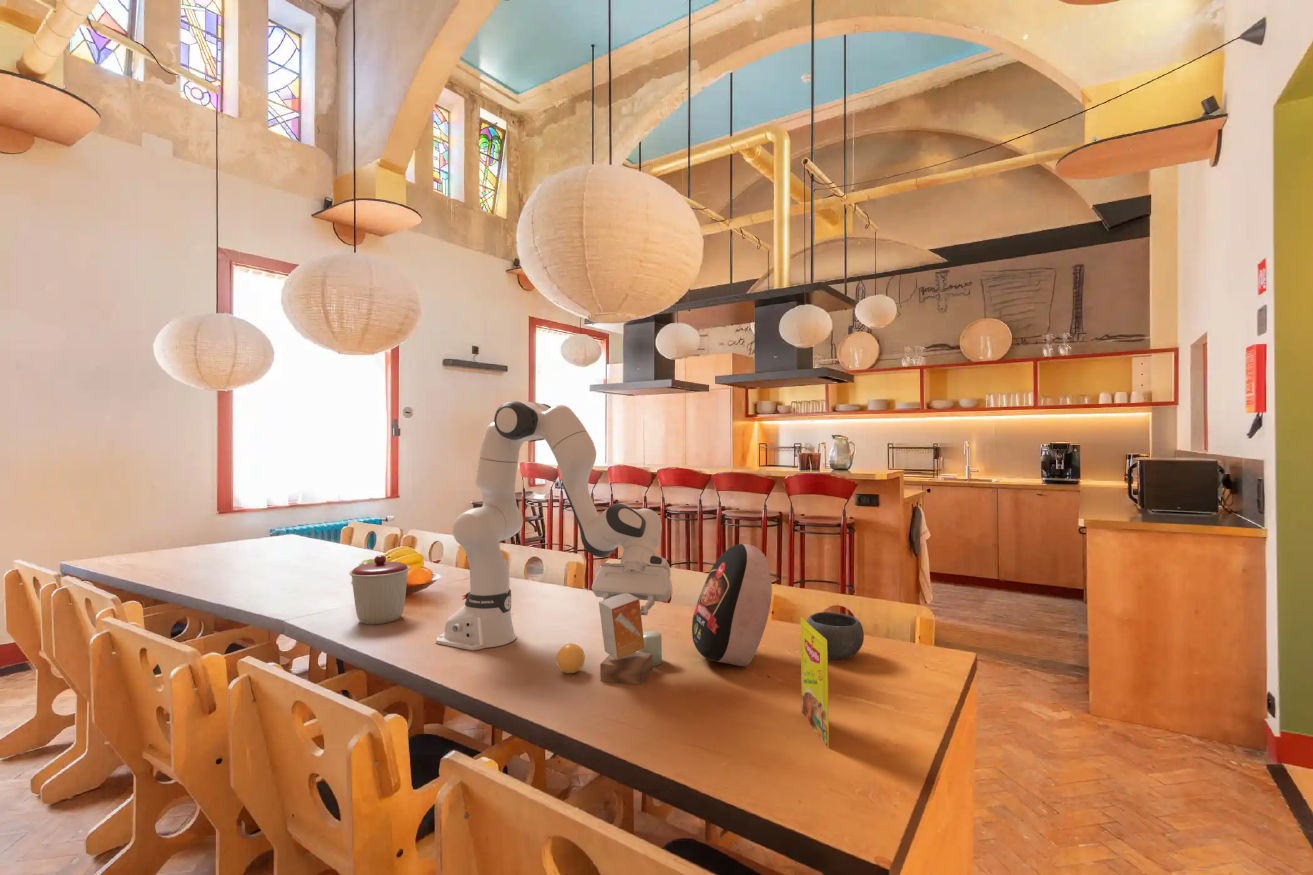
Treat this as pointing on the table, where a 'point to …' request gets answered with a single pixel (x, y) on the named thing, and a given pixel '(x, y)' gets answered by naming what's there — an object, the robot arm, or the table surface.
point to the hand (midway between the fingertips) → (625, 612)
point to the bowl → (838, 633)
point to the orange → (570, 658)
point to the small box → (621, 625)
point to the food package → (815, 680)
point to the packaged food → (733, 606)
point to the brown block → (626, 668)
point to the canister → (379, 590)
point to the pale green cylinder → (653, 646)
